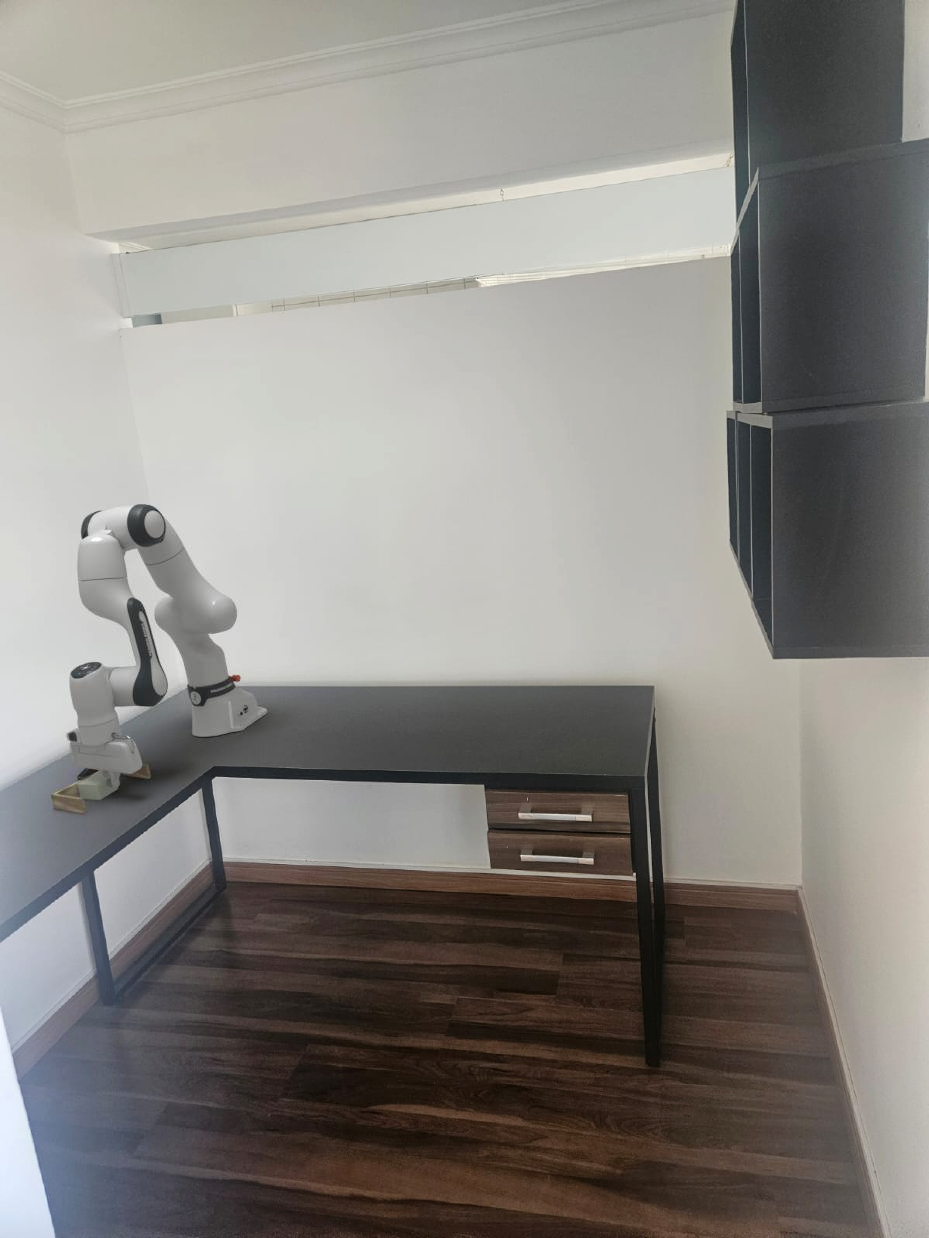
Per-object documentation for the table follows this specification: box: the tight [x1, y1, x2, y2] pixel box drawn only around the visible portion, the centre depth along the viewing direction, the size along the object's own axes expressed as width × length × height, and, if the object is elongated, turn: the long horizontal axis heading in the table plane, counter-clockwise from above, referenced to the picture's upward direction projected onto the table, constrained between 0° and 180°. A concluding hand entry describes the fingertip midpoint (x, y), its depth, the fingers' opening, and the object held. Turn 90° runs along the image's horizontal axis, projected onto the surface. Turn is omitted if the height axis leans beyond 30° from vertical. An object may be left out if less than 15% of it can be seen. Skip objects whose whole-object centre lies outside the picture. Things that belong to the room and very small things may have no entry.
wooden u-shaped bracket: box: [50, 763, 152, 814], centre depth 208 cm, size 20×10×4 cm, turn 152°
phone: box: [76, 768, 99, 781], centre depth 226 cm, size 8×1×15 cm
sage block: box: [77, 774, 119, 801], centre depth 207 cm, size 6×6×4 cm
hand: (113, 786), depth 206 cm, fingers closed
